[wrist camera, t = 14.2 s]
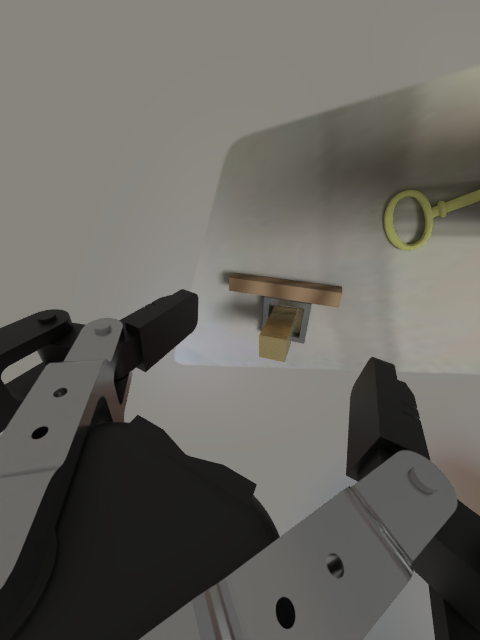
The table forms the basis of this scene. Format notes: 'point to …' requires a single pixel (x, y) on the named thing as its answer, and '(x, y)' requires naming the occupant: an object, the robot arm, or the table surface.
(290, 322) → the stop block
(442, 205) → the key
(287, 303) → the keeper
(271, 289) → the brown square bar
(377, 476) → the robot arm
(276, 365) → the table surface
